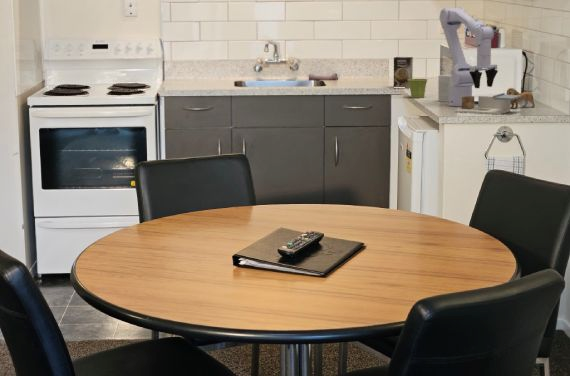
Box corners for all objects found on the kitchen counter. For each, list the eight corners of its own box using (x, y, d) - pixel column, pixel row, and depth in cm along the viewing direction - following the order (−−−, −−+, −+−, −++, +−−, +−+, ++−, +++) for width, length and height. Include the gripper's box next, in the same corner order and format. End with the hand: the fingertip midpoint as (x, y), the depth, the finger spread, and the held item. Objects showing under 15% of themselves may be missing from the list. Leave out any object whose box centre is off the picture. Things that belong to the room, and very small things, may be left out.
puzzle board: (454, 112, 406) (454, 98, 405) (466, 108, 416) (466, 95, 415) (499, 114, 395) (499, 100, 394) (510, 111, 405) (510, 97, 403)
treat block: (461, 108, 408) (461, 97, 407) (465, 107, 411) (465, 96, 410) (470, 109, 406) (470, 97, 405) (474, 108, 409) (474, 96, 408)
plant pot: (404, 97, 463) (404, 79, 461) (421, 96, 467) (421, 78, 465) (413, 99, 455) (413, 80, 453) (431, 97, 458) (431, 79, 456)
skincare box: (454, 101, 442) (454, 75, 440) (449, 102, 439) (449, 76, 437) (442, 100, 446) (443, 74, 444) (437, 101, 443) (438, 75, 441)
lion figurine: (510, 109, 409) (511, 88, 407) (503, 108, 414) (503, 87, 412) (538, 107, 415) (539, 86, 413) (530, 105, 420) (531, 85, 418)
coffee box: (393, 88, 502) (393, 57, 498) (395, 87, 508) (395, 56, 504) (410, 88, 499) (410, 57, 495) (412, 87, 505) (412, 56, 501)
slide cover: (492, 99, 396) (492, 95, 396) (502, 96, 405) (502, 93, 405) (511, 100, 392) (511, 96, 392) (521, 97, 401) (521, 94, 400)
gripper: (478, 56, 400) (478, 89, 403) (502, 54, 408) (502, 86, 411) (466, 56, 406) (466, 88, 409) (490, 54, 414) (489, 85, 417)
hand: (483, 87), depth 410 cm, fingers open, 7 cm apart
